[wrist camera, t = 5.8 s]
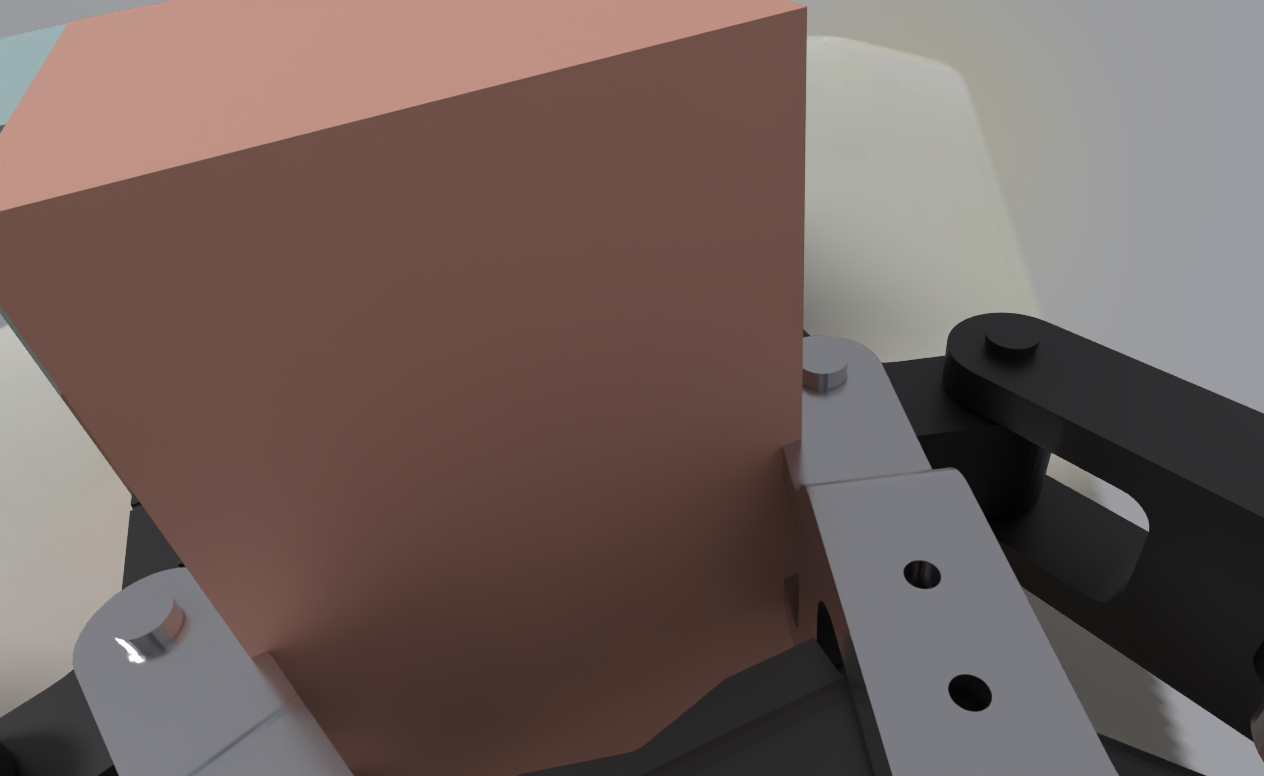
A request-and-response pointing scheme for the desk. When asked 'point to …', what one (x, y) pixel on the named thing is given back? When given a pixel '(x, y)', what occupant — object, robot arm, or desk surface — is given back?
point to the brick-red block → (439, 343)
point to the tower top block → (3, 81)
